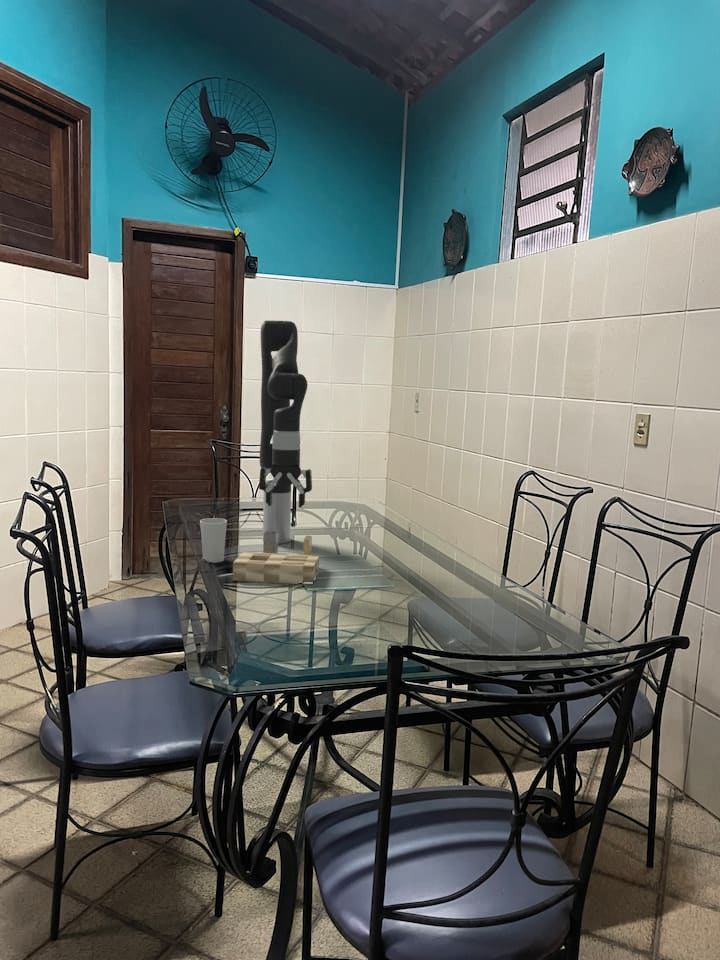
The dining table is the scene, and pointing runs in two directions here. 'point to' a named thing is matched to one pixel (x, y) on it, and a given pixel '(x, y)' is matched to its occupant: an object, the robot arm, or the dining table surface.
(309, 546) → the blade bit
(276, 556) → the socket block
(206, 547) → the cup
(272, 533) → the square bit
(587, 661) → the dining table surface
